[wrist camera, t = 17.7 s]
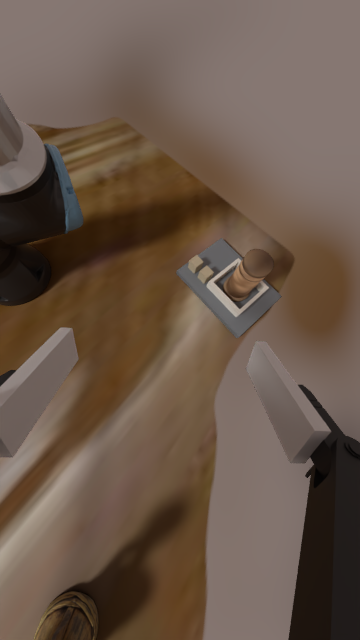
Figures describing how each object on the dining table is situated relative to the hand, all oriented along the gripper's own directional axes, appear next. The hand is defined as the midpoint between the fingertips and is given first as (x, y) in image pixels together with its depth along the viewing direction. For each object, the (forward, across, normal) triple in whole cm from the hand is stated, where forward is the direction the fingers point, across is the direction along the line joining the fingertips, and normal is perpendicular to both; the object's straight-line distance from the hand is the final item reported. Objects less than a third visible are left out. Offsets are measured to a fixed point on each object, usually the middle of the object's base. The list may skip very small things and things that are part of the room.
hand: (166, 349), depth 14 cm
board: (+35, +15, -6) cm, 39 cm away
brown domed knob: (+33, +16, -6) cm, 37 cm away
